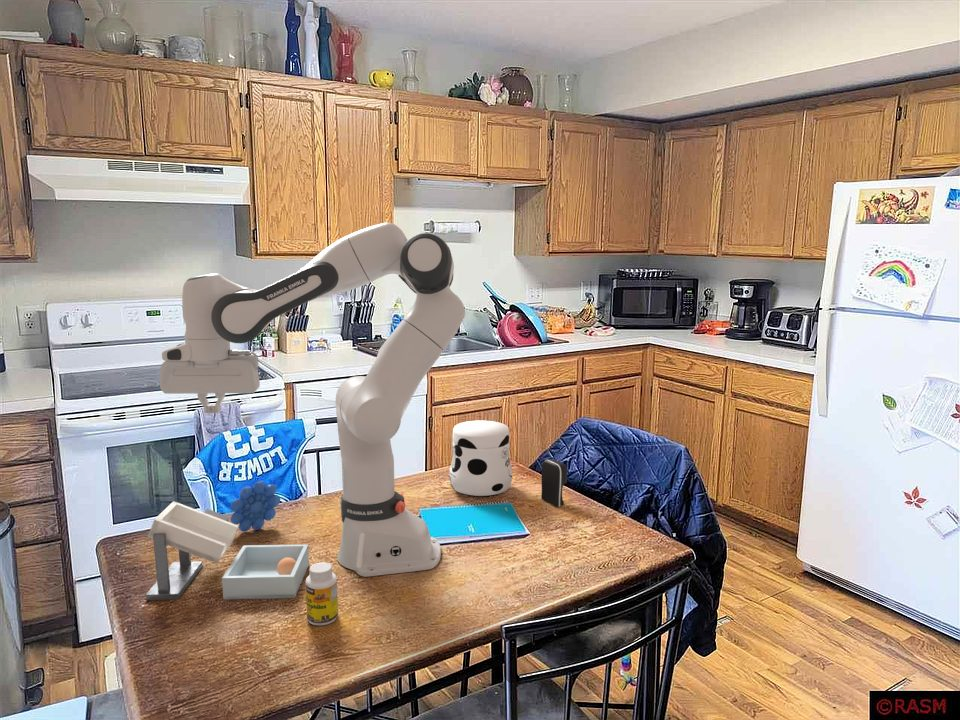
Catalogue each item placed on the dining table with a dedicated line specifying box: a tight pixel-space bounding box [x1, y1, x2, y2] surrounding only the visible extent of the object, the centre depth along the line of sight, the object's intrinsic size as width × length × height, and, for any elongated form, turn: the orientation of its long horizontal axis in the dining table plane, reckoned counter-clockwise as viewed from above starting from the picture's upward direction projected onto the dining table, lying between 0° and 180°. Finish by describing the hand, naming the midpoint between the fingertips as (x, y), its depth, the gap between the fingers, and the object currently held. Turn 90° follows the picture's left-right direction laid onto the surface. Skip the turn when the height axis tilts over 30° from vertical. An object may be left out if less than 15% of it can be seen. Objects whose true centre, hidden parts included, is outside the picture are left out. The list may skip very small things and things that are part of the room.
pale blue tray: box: [221, 544, 310, 600], centre depth 135 cm, size 14×14×4 cm
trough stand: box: [145, 533, 204, 601], centre depth 133 cm, size 6×13×13 cm, turn 3°
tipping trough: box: [147, 500, 239, 564], centre depth 136 cm, size 14×16×4 cm
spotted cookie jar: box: [448, 419, 513, 499], centre depth 182 cm, size 17×17×18 cm
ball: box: [277, 558, 296, 575], centre depth 135 cm, size 4×4×4 cm
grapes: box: [229, 480, 281, 532], centre depth 158 cm, size 12×7×12 cm, turn 121°
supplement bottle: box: [305, 561, 339, 626], centre depth 121 cm, size 6×6×10 cm
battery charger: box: [540, 458, 568, 508], centre depth 174 cm, size 7×4×11 cm, turn 34°
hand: (212, 412), depth 144 cm, fingers closed
